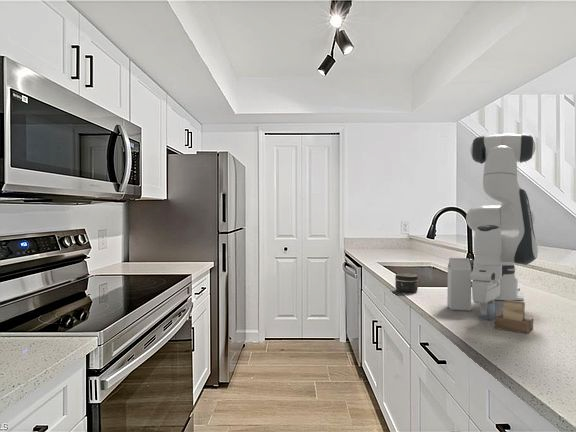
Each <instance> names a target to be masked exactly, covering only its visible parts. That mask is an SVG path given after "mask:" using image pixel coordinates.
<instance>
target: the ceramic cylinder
mask: <svg viewBox="0 0 576 432" xmlns="http://www.w3.org/2000/svg"><path fill="white" fill-rule="evenodd" d="M478 306H479V315H478V317H479V319H481V320H482V319H483V320H495V318H496V303H495V302H494V303H492V302H488V305H487V309H488V314H487V315H482V314H481V307H480V304H478Z"/></svg>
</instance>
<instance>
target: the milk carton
mask: <svg viewBox="0 0 576 432" xmlns="http://www.w3.org/2000/svg"><path fill="white" fill-rule="evenodd" d="M448 259H449V260H448V263H447V300H446V301H447V303H446V304H447V307H448V308H449V309H450V310H451V311H452V310H453V311H472V280H471V279H470V275H471V272H472V267H471V263H470V258H468V257H449V258H448Z"/></svg>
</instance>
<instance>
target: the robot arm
mask: <svg viewBox="0 0 576 432" xmlns="http://www.w3.org/2000/svg"><path fill="white" fill-rule="evenodd" d="M469 151H470V155H471V158H472V160H473V161H474V162H475V163H479V164H484V165H483V166H484V167H483V176H482V187H483V191H484V193H485V194H486V195H487V196H488V197H489V198H491V199H493V200H495V201H498V202H500V203H501V204H500V205H479V206H474V207H473V206H472V207H471V208H470V209H469V210H467V212H466V215H465V216H466V217H465V221H466V224H467V226H468V227H469V229H471V230H472V231H473V232H474V238H473V253H474V254H473V255H474V259H473V269H472V270H471V275H470V279H471V297H472V300H473V303H474V304H478V305H479V304H480V307H481V314H482V315H487V314H488V309H487V305H488V302H492V303H495V300H497V301H506V300H513V301H525V300H524V292H522V291H520V290H521V288H520V287H519V281H518V278H517V276H516V274H515V273H516V268H515V264H519V265H525V266H526V265H529V264H531V263H532V262H534V261H535V260H536V259H537V258H538V252H539V251H538V250H539V249H538V244H537V241H536V237H535V236H536V235H535V231H534V223H535V215H534V213H533V211H532V209H531V206H530V205H531V204H530V199H529V196H528V194H527V191H526V190H525V189H524V188H521V187H520V185H519V182H518V162H519V163H520V164H521V163H526V162H529V160H531V159H532V158H533V156H534V154H535V151H536V142H535V140H534V137H533V136H532V135H531V134H528V133H521V134H519V133H518V134H517V133H502V134H493V135H479V136H477V137H475V138H474V139H473V140H472V143H471V145H470V150H469ZM502 232H509V233H510V232H515V233H516V232H518V234H502Z"/></svg>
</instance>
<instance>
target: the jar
mask: <svg viewBox="0 0 576 432" xmlns="http://www.w3.org/2000/svg"><path fill="white" fill-rule="evenodd" d="M394 277H395V278H394V279H395V285H394V287H395V290H396V292H397V293H401V294H416V293H417V292H418V288H419V275H418V274H413V273H395V276H394Z"/></svg>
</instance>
